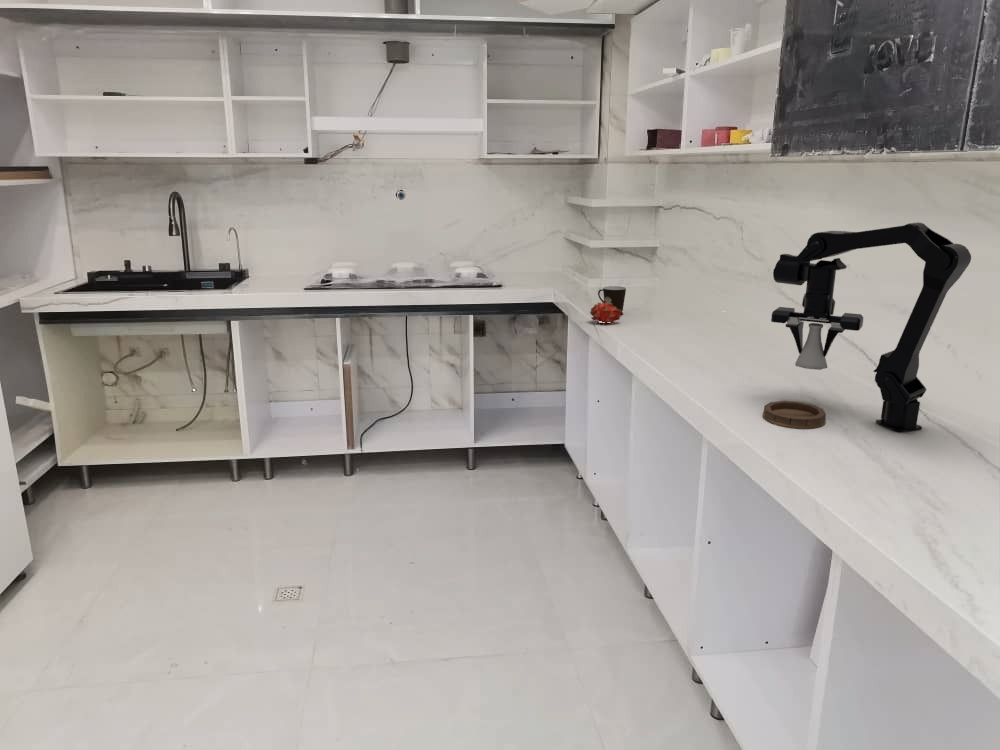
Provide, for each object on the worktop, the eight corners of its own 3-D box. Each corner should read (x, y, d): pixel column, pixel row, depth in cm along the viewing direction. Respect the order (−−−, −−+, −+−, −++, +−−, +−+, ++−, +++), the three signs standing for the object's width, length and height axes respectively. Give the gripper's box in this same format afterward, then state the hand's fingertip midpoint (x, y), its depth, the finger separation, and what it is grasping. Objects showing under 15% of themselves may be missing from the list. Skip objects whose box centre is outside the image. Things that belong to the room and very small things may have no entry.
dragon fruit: (586, 327, 261) (619, 332, 261) (590, 317, 253) (624, 322, 253) (589, 306, 264) (621, 310, 264) (592, 295, 256) (626, 300, 256)
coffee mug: (628, 315, 273) (630, 289, 270) (607, 317, 271) (608, 290, 268) (616, 309, 284) (617, 284, 281) (595, 311, 281) (596, 285, 279)
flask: (800, 360, 174) (804, 319, 171) (832, 365, 169) (837, 323, 166) (789, 367, 168) (794, 325, 166) (822, 372, 164) (827, 329, 161)
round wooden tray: (838, 425, 157) (840, 415, 156) (787, 431, 153) (788, 422, 153) (798, 406, 169) (799, 398, 168) (750, 412, 165) (751, 403, 165)
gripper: (870, 286, 165) (861, 352, 169) (785, 280, 175) (778, 343, 179) (863, 293, 156) (854, 363, 161) (773, 286, 166) (767, 352, 170)
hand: (812, 354), depth 168 cm, fingers closed on flask, 5 cm apart
